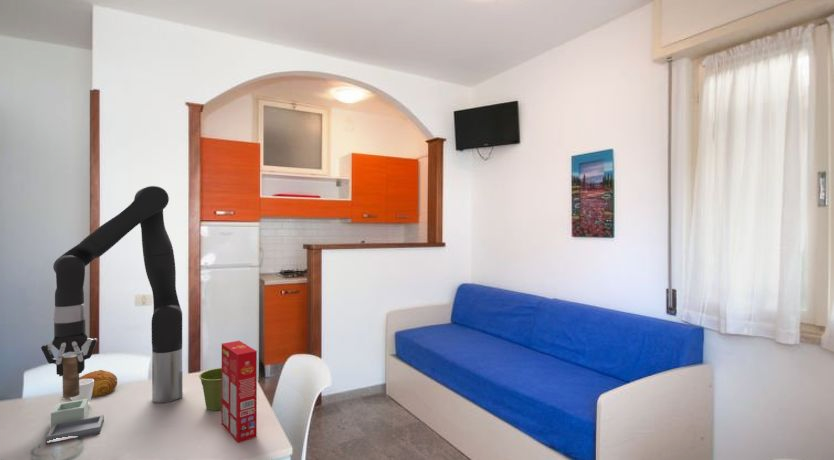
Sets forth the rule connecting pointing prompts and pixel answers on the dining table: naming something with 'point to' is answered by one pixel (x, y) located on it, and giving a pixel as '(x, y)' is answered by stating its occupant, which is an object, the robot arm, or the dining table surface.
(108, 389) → the croissant
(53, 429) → the tray
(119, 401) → the dining table surface
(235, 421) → the food packaging
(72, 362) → the wooden dowel
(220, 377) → the plant pot
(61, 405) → the pot
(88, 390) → the cup
